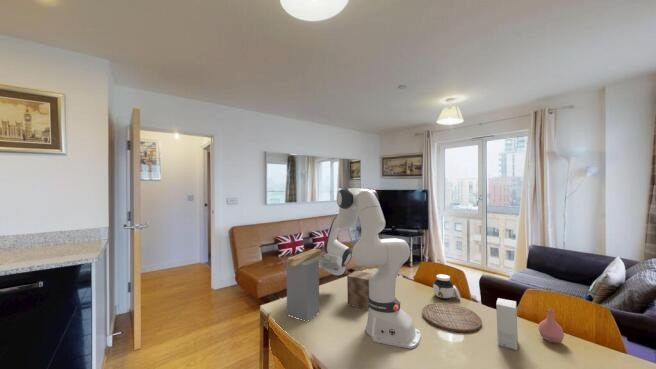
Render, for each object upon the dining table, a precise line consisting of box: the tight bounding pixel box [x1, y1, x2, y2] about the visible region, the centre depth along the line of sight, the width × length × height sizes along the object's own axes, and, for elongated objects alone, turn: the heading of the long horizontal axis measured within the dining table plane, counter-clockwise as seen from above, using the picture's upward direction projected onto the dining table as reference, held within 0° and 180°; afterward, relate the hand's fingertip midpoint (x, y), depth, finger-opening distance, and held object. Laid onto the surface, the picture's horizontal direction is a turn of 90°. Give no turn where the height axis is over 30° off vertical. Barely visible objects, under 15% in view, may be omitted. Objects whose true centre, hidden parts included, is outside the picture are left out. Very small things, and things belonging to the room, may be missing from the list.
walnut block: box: [346, 270, 373, 311], centre depth 137 cm, size 12×10×15 cm
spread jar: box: [432, 273, 461, 301], centre depth 143 cm, size 12×11×12 cm
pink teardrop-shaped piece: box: [538, 308, 565, 343], centre depth 102 cm, size 8×8×12 cm
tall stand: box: [286, 259, 320, 322], centre depth 126 cm, size 12×10×26 cm
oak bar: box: [287, 248, 322, 266], centre depth 128 cm, size 4×22×3 cm, turn 149°
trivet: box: [421, 302, 483, 334], centre depth 121 cm, size 25×25×2 cm
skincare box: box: [495, 297, 519, 351], centre depth 102 cm, size 8×7×16 cm
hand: (316, 254), depth 136 cm, fingers open, 8 cm apart
